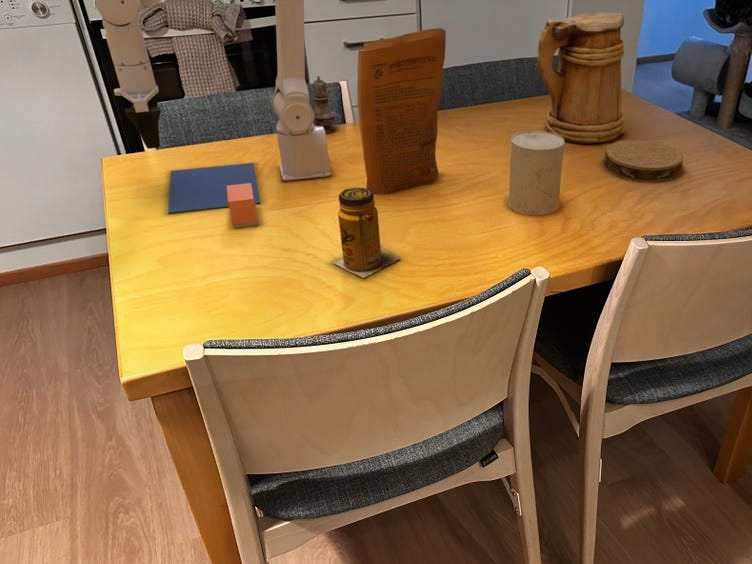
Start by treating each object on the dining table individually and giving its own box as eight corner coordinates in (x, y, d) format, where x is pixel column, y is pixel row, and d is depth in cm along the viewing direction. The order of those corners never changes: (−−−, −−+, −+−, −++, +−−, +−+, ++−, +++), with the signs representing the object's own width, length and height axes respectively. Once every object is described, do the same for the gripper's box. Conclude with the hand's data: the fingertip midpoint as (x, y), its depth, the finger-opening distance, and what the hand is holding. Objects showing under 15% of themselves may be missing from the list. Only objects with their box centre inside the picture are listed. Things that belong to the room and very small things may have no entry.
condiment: (332, 263, 112) (323, 193, 105) (371, 245, 117) (365, 177, 110) (363, 279, 108) (356, 207, 101) (402, 259, 113) (398, 190, 106)
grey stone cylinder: (564, 198, 134) (570, 134, 126) (551, 218, 126) (557, 152, 119) (516, 190, 136) (519, 128, 128) (501, 210, 129) (504, 145, 121)
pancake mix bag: (456, 180, 139) (456, 29, 122) (371, 202, 130) (358, 42, 113) (438, 169, 144) (435, 22, 127) (354, 189, 135) (340, 34, 118)
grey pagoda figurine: (331, 135, 159) (325, 80, 151) (307, 132, 159) (300, 78, 152) (341, 126, 163) (335, 73, 156) (317, 124, 164) (310, 71, 157)
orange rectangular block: (256, 208, 127) (251, 182, 124) (258, 225, 122) (253, 198, 119) (232, 211, 126) (226, 185, 123) (233, 228, 121) (227, 201, 118)
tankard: (639, 136, 162) (658, 19, 147) (558, 154, 152) (569, 30, 137) (590, 114, 174) (603, 3, 159) (512, 129, 164) (517, 13, 149)
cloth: (253, 164, 144) (253, 162, 144) (260, 203, 129) (259, 202, 129) (171, 172, 140) (171, 170, 140) (168, 214, 125) (168, 212, 125)
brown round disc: (648, 188, 138) (651, 174, 136) (588, 164, 147) (590, 150, 145) (695, 169, 146) (698, 155, 145) (636, 147, 156) (638, 134, 154)
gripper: (107, 53, 122) (129, 129, 131) (104, 75, 112) (129, 157, 120) (150, 49, 125) (169, 125, 133) (151, 71, 114) (172, 152, 122)
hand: (153, 140), depth 127 cm, fingers open, 7 cm apart
